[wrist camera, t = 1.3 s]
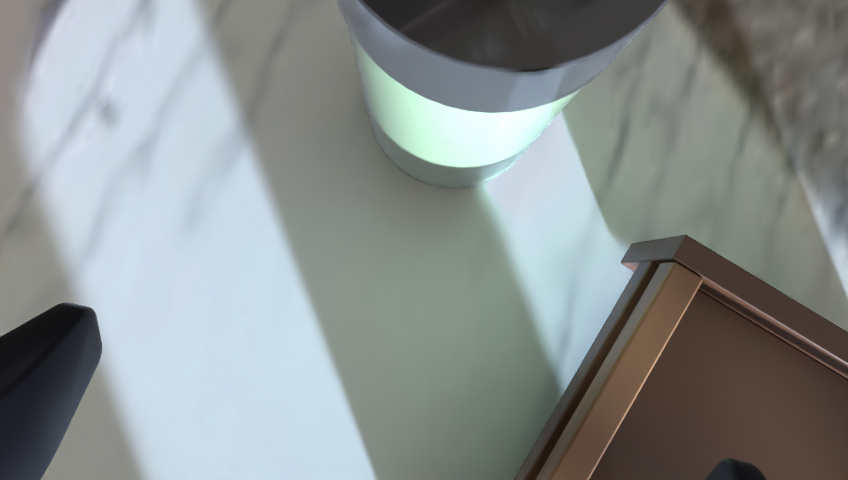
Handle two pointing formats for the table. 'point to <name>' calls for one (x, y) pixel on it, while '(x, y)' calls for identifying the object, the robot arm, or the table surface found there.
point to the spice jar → (479, 74)
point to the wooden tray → (700, 380)
